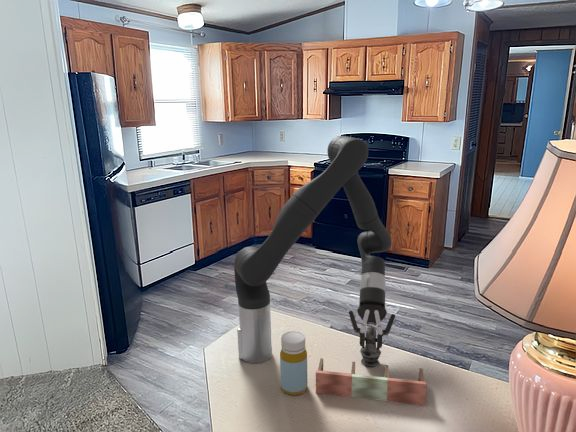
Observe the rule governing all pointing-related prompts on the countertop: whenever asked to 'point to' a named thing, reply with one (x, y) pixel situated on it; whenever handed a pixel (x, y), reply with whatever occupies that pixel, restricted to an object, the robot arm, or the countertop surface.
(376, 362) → the grey chess piece
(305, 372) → the bottle
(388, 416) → the countertop surface
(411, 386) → the bay rack
